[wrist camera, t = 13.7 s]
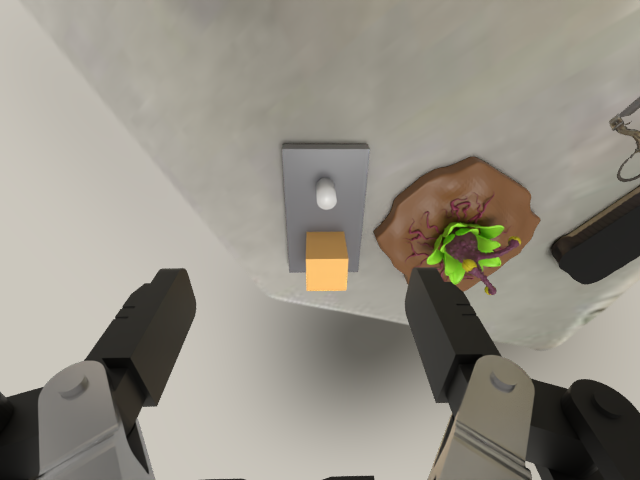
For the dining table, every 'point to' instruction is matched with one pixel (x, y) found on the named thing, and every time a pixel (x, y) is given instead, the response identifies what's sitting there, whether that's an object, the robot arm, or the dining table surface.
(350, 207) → the board
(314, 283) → the pale orange cube
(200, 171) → the dining table surface
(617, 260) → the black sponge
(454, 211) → the plant
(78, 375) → the robot arm
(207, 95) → the dining table surface
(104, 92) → the dining table surface
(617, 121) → the hacksaw
